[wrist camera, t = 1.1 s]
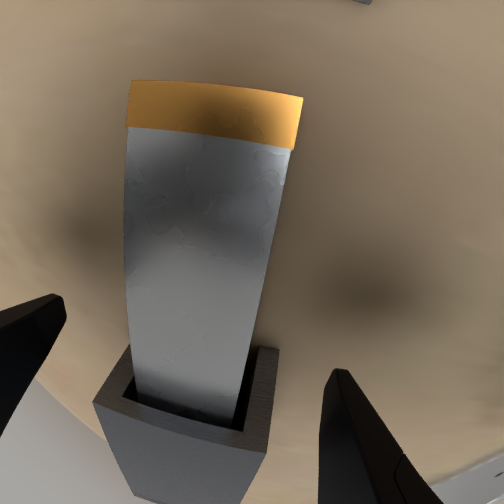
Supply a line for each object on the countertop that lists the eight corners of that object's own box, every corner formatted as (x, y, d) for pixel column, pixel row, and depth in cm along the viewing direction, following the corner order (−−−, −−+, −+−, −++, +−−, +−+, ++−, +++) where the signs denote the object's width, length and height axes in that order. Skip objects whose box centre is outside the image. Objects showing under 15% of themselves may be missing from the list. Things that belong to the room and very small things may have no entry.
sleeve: (279, 349, 15) (266, 453, 10) (242, 458, 21) (229, 522, 15) (147, 317, 15) (92, 401, 10) (158, 436, 21) (134, 495, 16)
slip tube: (301, 105, 10) (303, 97, 6) (226, 447, 20) (214, 497, 16) (190, 90, 10) (131, 80, 6) (173, 433, 20) (155, 481, 16)
